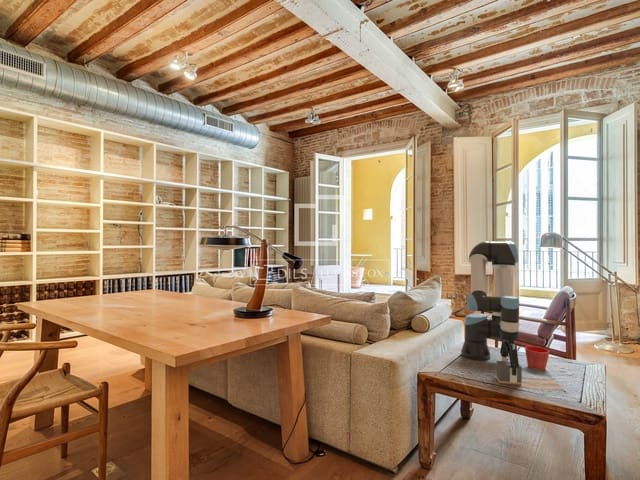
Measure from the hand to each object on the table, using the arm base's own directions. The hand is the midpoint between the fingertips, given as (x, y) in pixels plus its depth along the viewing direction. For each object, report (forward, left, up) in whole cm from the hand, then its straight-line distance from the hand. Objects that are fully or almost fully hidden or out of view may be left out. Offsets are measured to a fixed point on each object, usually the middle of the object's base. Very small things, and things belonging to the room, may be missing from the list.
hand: (508, 376), depth 170 cm
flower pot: (-25, +20, -4) cm, 32 cm away
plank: (0, +8, -3) cm, 9 cm away
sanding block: (0, 0, -2) cm, 2 cm away
